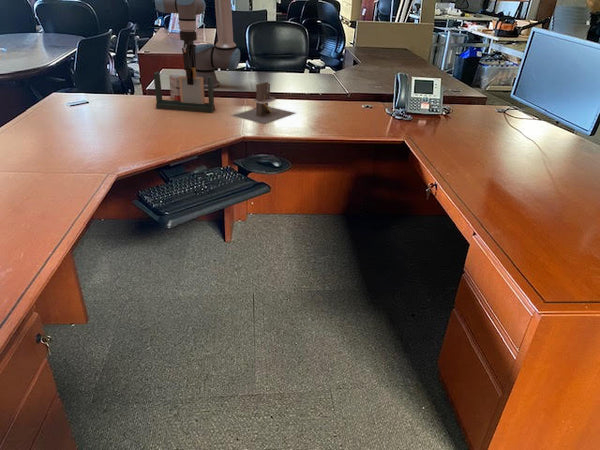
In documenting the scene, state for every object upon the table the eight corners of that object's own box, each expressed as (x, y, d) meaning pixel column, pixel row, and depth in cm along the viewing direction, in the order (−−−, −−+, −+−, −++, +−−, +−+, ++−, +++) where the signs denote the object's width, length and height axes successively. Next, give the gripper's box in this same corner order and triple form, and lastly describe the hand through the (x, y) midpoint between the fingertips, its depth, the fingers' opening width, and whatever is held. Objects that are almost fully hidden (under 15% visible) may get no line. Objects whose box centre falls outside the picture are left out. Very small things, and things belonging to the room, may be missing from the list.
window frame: (160, 105, 222) (157, 71, 214) (214, 109, 221) (213, 75, 213) (156, 108, 217) (152, 73, 209) (211, 113, 215) (209, 77, 207)
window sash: (182, 102, 219) (179, 66, 210) (205, 104, 218) (203, 68, 210) (180, 104, 216) (177, 67, 208) (203, 105, 216) (201, 69, 207)
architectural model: (295, 113, 222) (296, 83, 215) (264, 123, 204) (265, 91, 197) (264, 105, 232) (264, 76, 224) (232, 115, 213) (231, 84, 206)
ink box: (186, 100, 234) (184, 76, 228) (177, 101, 231) (175, 77, 226) (179, 96, 240) (177, 73, 234) (170, 97, 237) (168, 74, 231)
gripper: (185, 28, 208) (189, 80, 220) (173, 32, 194) (178, 86, 206) (201, 29, 208) (203, 81, 219) (190, 33, 194) (194, 88, 205)
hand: (191, 83), depth 212 cm, fingers closed on window sash, 3 cm apart
